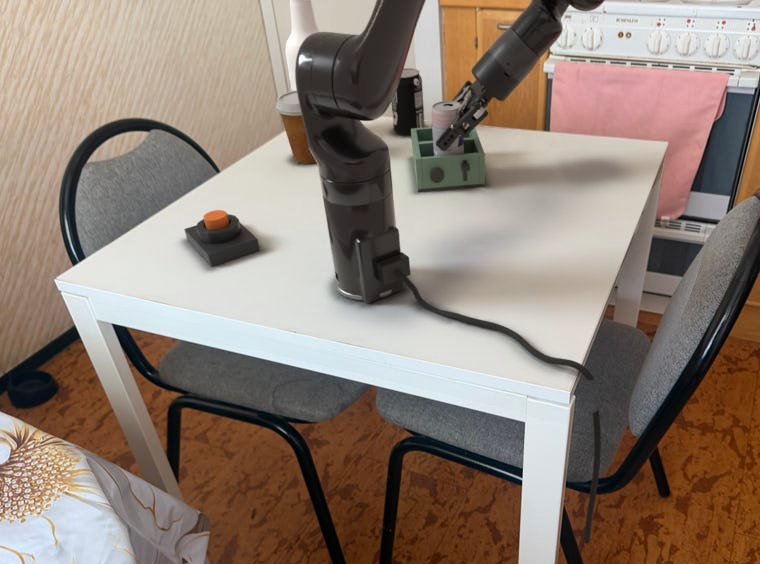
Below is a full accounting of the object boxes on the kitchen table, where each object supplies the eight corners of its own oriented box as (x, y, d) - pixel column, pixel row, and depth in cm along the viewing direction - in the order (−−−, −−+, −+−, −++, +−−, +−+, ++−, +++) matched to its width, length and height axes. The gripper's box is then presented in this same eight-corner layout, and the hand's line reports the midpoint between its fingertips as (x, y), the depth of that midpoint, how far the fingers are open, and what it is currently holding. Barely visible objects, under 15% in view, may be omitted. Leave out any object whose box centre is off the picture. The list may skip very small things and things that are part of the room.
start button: (232, 225, 109) (230, 215, 108) (210, 232, 107) (208, 222, 106) (224, 217, 111) (221, 207, 110) (202, 224, 110) (199, 214, 108)
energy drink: (467, 167, 127) (465, 100, 120) (460, 179, 123) (458, 111, 116) (439, 166, 129) (435, 100, 121) (431, 177, 125) (427, 110, 117)
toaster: (474, 153, 136) (473, 123, 132) (486, 190, 123) (486, 157, 119) (413, 158, 136) (410, 128, 132) (418, 195, 122) (416, 163, 119)
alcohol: (345, 140, 145) (323, -21, 127) (303, 147, 144) (275, -16, 125) (337, 127, 152) (316, -28, 134) (297, 133, 150) (270, -23, 132)
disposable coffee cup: (278, 165, 137) (265, 103, 129) (299, 147, 144) (288, 87, 136) (322, 168, 134) (312, 105, 127) (341, 150, 141) (333, 89, 134)
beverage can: (389, 129, 149) (384, 71, 142) (417, 123, 151) (413, 65, 144) (401, 138, 144) (396, 79, 137) (430, 132, 146) (426, 73, 139)
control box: (260, 251, 109) (254, 228, 107) (211, 267, 106) (204, 244, 104) (234, 226, 117) (228, 204, 114) (187, 241, 113) (180, 218, 111)
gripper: (483, 37, 119) (419, 114, 126) (496, 60, 108) (424, 143, 115) (514, 67, 123) (449, 140, 130) (529, 92, 111) (457, 170, 118)
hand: (438, 141), depth 122 cm, fingers closed on energy drink, 5 cm apart
